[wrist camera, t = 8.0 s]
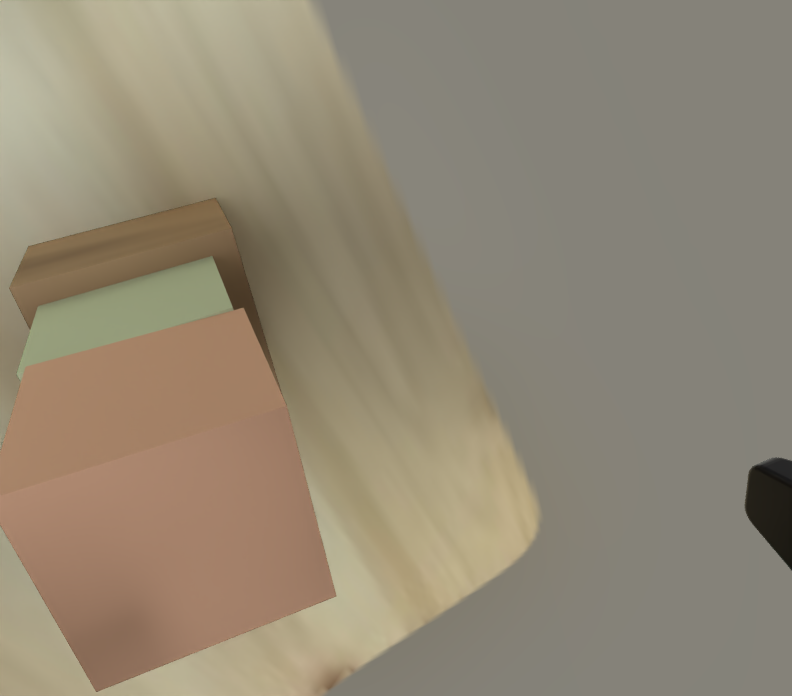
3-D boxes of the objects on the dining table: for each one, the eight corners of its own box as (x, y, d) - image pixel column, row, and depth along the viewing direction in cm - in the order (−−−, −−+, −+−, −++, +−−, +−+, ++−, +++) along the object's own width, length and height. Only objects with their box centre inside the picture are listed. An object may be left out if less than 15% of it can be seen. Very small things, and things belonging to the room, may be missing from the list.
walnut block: (261, 348, 21) (283, 399, 18) (101, 399, 20) (97, 463, 17) (214, 196, 18) (232, 228, 16) (29, 244, 17) (9, 287, 14)
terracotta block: (287, 467, 15) (336, 596, 11) (102, 529, 14) (96, 692, 10) (243, 307, 13) (286, 405, 9) (25, 366, 12) (-14, 500, 8)
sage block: (258, 392, 18) (285, 465, 15) (106, 444, 17) (103, 533, 14) (212, 255, 16) (232, 306, 13) (38, 306, 15) (16, 374, 12)
